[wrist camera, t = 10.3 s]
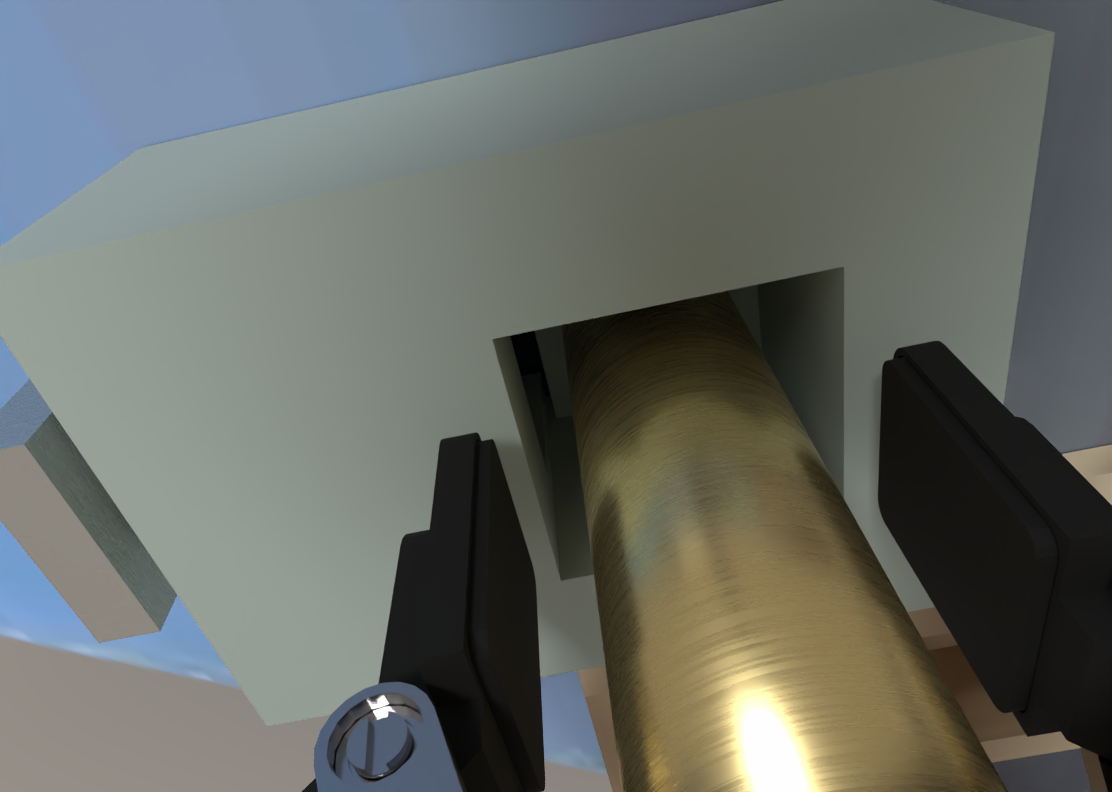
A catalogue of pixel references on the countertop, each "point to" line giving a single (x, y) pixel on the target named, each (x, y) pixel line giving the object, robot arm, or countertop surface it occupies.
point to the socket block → (514, 297)
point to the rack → (994, 729)
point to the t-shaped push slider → (75, 525)
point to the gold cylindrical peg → (742, 579)
